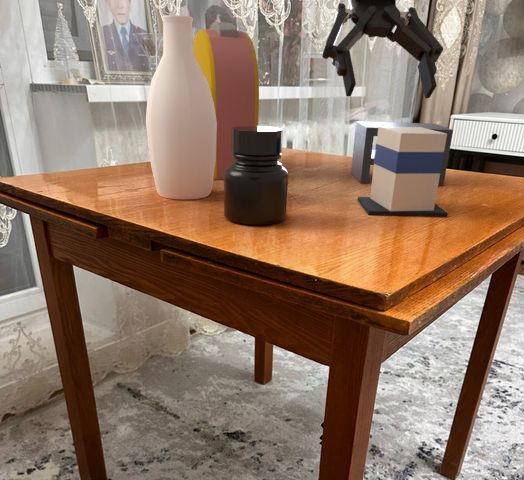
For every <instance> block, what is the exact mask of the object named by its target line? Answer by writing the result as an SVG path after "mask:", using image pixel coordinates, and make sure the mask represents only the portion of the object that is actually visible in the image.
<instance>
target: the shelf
mask: <svg viewBox="0 0 524 480" xmlns="http://www.w3.org/2000/svg"><path fill="white" fill-rule="evenodd" d="M378 127H422V128H426V129H430V130H434V131H438V132H442V133H446V134H447V137H446V143H445V149H444V158H443V164H442V169H441V173H440V177H439V183H438V187H439V186H442V187H443V186H444V183H445V179H446V173H447V167H448V163H449V155H450V150H451V145H452V140H453V139H452V138H453V134H454V129H452V128H449V127H445V126H443V125H441V124H440V125H439V124H437V123H429V122H428V123H424V122H393V121H392V122H391V121H390V122H389V121H358V120H356V121H355V128H354V139H353V148H352V160H351V168H350V169H351V170H350V173H351V174H352V176H354V178H355V179H356V180H357V181H358V183H359V184H365V185H366V184H369V181H370V171H371V166H374V156H375V149H373V147H374V145H373V144H374V137H377V135H378Z"/></svg>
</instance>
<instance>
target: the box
mask: <svg viewBox="0 0 524 480" xmlns="http://www.w3.org/2000/svg"><path fill="white" fill-rule="evenodd" d="M446 137H447V134H446V133H442V132H438V131H434V130H430V129H426V128H422V127H378V135H377V136H376V142H375V146H374V148H375V149H374V150H375V156H374V165H373V168H372V169H373V170H372V178H371V185H370V186H371V187H370V195H369V197H370V199H372V200H373V201H375V202H377V203H378V204H380V205H381V206H383V207H385V208H386V209H388V210H389V211H434V206H435V203H436V200H437V195H438V188H439V186H438V183H439V177H440V173H441V169H442V164H443V158H444V149H445V143H446Z"/></svg>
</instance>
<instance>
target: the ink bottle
mask: <svg viewBox="0 0 524 480" xmlns="http://www.w3.org/2000/svg"><path fill="white" fill-rule="evenodd" d="M283 131H284V129H282V128H281V127H280V128H279V127H274V126H261V125H260V126H259V125H258V126H239V127H233V128H232V157H233V158H235V161H233V162H232V163H231V165H230V166H228V167H227V168H226V169H225V172H224V179H223V215H224V218H225V219H226V220H228V221H230V222H233V223H237V224H243V225H248V226H249V225H250V226H252V225H253V226H265V225H273V224H277V223H280V222H283V221H284V220H286V218H287V215H288V214H287V213H288V195H289V194H288V193H289V172H288V170H287V168H285V167H284V166H283V164H282V163H281V162H279V160H281V158H282V153H283V133H284V132H283Z"/></svg>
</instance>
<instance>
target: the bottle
mask: <svg viewBox="0 0 524 480" xmlns="http://www.w3.org/2000/svg"><path fill="white" fill-rule="evenodd" d="M161 21H162V36H163V37H162V56H161V58H160V61H159V63H158V65H157V67H156V69H155V72H154V74H153V76H152V79H151V81H150V86H149V90H148V95H147V100H146V113H145V127H146V128H145V129H146V136H147V137H146V138H147V145H148V146H147V147H148V154H149V161H150V167H151V171H152V176H153V181H154V186H155V190H156V193H157V195H159V197H161V198H165V199H169V200H179V201H180V200H182V201H184V200H186V201H187V200H188V201H189V200H199V199H204V198H208V197H209V195H210V194H211V193H212V191H213V183H214V179H213V176H214V169H215V161H216V133H217V121H216V114H215V108H214V102H213V98H212V95H211V91H210V88H209V84H208V81H207V79H206V77H205V75H204V73H203V71H202V69H201V67H200V65H199V63H198V61H197V59H196V57H195V55H194V45H193V43H194V34H193V33H194V32H193V31H194V30H193V22H194V17H192V16H189V15H177V14H165V15H164V14H163V15H161Z"/></svg>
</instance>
